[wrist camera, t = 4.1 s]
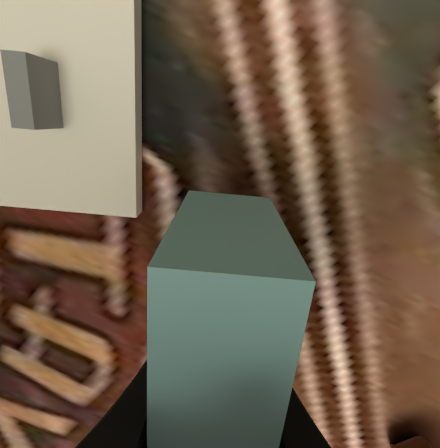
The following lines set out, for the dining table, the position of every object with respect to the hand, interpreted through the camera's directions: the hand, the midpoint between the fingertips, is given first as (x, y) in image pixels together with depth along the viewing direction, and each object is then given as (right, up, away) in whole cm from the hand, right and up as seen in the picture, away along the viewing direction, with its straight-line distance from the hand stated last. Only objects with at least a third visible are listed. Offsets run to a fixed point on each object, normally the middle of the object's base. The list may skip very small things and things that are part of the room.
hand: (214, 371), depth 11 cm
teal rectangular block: (0, +1, +2) cm, 2 cm away
